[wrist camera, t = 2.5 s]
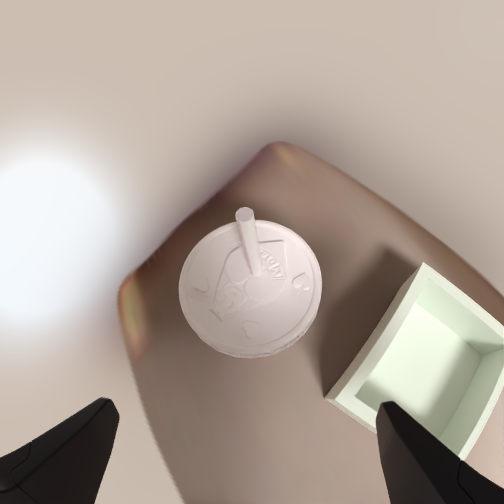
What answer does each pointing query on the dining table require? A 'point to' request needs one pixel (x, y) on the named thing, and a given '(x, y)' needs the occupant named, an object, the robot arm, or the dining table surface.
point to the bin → (428, 363)
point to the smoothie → (250, 287)
